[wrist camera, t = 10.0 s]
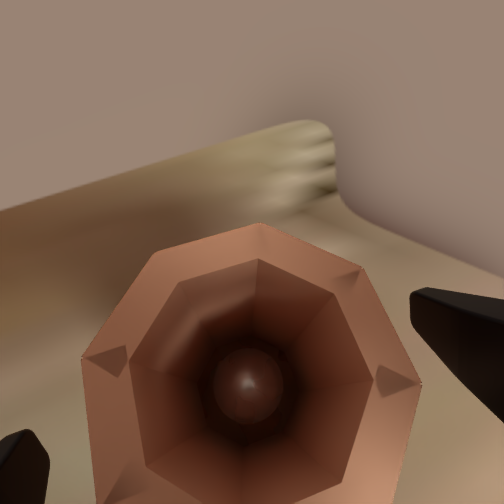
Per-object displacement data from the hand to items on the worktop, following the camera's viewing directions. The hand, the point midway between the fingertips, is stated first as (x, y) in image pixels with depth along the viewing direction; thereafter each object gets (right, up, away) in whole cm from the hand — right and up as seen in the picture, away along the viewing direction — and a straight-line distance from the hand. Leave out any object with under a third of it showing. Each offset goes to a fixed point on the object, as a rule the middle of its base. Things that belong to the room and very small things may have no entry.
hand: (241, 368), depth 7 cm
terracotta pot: (0, -4, +8) cm, 9 cm away
